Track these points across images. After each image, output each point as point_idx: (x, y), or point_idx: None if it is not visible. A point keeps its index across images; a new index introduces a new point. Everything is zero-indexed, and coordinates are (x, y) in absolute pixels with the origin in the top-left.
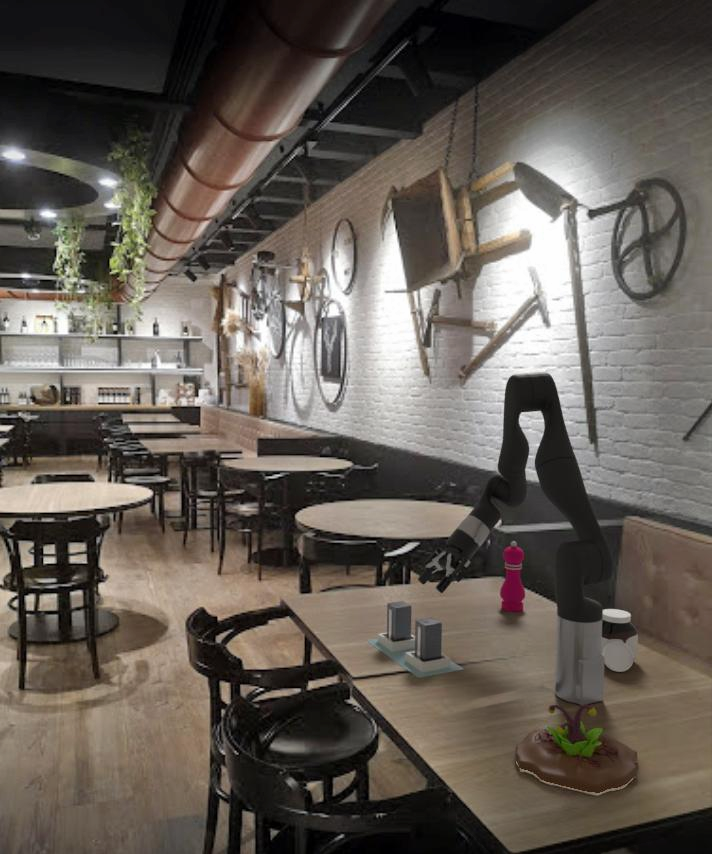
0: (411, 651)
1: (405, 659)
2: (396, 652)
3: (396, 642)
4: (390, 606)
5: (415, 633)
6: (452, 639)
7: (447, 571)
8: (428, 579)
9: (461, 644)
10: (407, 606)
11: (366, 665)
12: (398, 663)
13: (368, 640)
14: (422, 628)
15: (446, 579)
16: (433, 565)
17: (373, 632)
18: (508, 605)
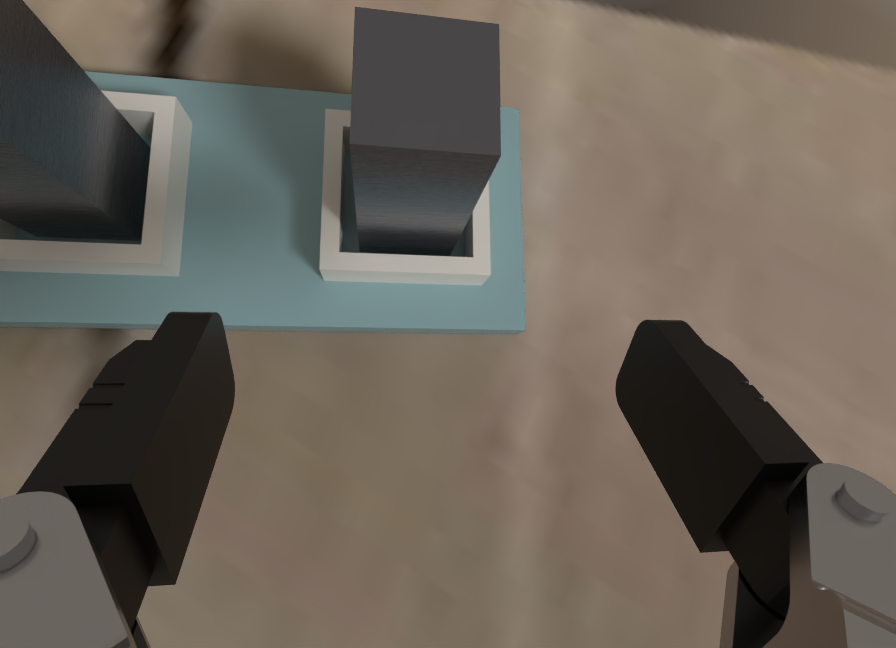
0: (172, 130)
1: (186, 117)
2: (312, 145)
3: (331, 136)
4: (442, 26)
5: (57, 46)
6: (425, 554)
7: (62, 613)
8: (650, 462)
9: (338, 560)
10: (352, 108)
11: (306, 16)
12: (179, 79)
13: (509, 116)
14: None
15: (54, 475)
16: (791, 601)
17: (654, 240)
18: None
